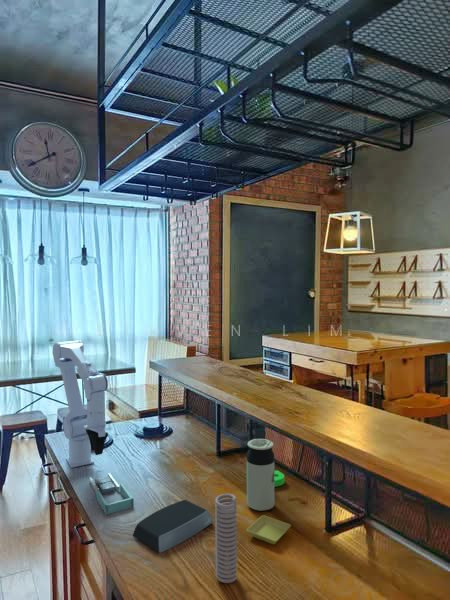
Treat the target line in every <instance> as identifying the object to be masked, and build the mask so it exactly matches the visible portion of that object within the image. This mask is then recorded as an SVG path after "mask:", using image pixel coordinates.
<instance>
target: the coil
mask: <svg viewBox="0 0 450 600" xmlns="http://www.w3.org/2000/svg"><path fill="white" fill-rule="evenodd" d="M237 505H238V504H237V496H236V495H235V494H233V493H232V494H231V493H222V494H219V495H217V496H216V497H215V500H214V507H215V509H214V510H215V511H214V512H215V514H214V515H215V516H214V517H215V519H214V520H215V524H214V525H215V527H214V528H215V531H214V532H215V541H214V542H215V577H216V579H217V580H218V581H219V582H222V583H223V584H224V583H225V584H230V583H233V582H235V581H236V580H237V578H238V576H237V573H238V570H237V568H238V565H237V564H238V561H237V559H238V555H237V554H238V552H237V550H238V548H237V546H238V544H237V543H238V542H237V540H238V539H237V536H238V535H237V530H238V529H237V527H238V526H237V523H238V521H237V518H238V517H237V513H238V512H237Z"/></svg>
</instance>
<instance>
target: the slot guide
mask: <svg viewBox="0 0 450 600" xmlns="http://www.w3.org/2000/svg"><path fill="white" fill-rule="evenodd" d="M107 476H108V478H109V479H110V480H111V482H112V483H113V485H114V486H115V491H116V492H118V493H119V492H120V484H118V482H117V480H115V478H114V477H113V475H112V474H111V473H110V472H109V473H107ZM88 479H89V480H88V481H89V484H90V485H91V487H92V488H93V490H95V491H94V492H95V493H96V490H99V489H98V487H97V486H96V484H95V480H94V479H93V478H92V477H88ZM99 491H100V490H99Z"/></svg>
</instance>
